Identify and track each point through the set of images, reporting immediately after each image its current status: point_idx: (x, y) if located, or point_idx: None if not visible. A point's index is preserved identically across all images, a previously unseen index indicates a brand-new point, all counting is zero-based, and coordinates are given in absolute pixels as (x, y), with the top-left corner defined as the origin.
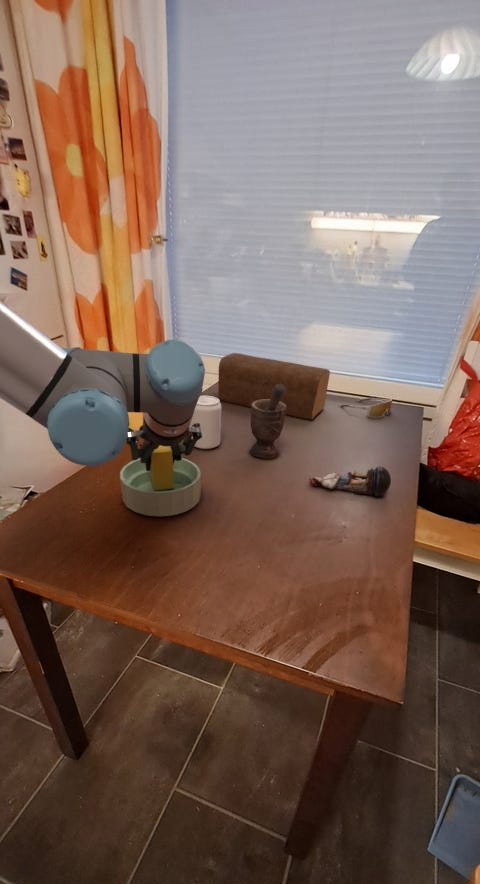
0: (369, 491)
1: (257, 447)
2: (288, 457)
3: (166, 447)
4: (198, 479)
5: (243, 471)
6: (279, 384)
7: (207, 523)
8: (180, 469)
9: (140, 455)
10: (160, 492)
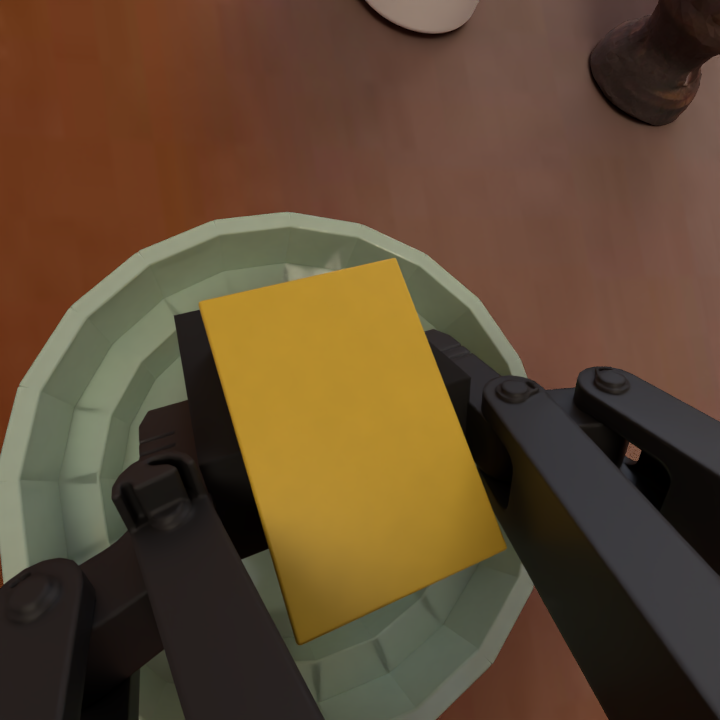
0: None
1: (644, 67)
2: (714, 115)
3: (433, 461)
4: None
5: (591, 213)
6: None
7: (534, 669)
8: None
9: (159, 648)
10: None
